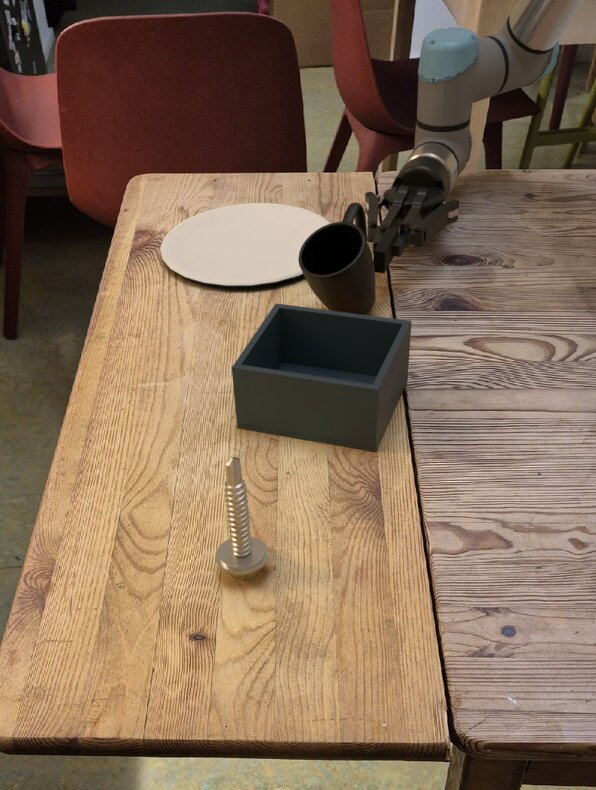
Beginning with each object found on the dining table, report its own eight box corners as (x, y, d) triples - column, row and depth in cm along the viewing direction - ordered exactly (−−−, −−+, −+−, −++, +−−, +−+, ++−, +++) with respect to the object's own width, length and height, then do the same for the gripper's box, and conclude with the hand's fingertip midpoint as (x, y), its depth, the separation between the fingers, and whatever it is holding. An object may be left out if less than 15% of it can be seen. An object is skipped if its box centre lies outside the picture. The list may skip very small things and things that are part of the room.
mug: (407, 254, 115) (387, 197, 107) (371, 333, 113) (349, 280, 105) (348, 250, 119) (326, 194, 111) (313, 326, 117) (287, 274, 109)
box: (278, 362, 110) (275, 303, 104) (407, 381, 105) (411, 320, 100) (237, 428, 101) (231, 367, 96) (375, 451, 97) (378, 389, 91)
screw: (217, 590, 84) (218, 553, 87) (270, 587, 84) (269, 551, 87) (202, 477, 75) (204, 441, 78) (262, 474, 74) (261, 438, 78)
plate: (329, 204, 139) (329, 195, 138) (347, 285, 121) (347, 276, 120) (163, 216, 139) (162, 208, 138) (157, 299, 122) (156, 290, 121)
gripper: (468, 215, 128) (429, 297, 113) (377, 206, 132) (328, 285, 117) (474, 159, 123) (434, 237, 108) (379, 151, 126) (327, 226, 112)
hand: (379, 262), depth 112 cm, fingers closed
